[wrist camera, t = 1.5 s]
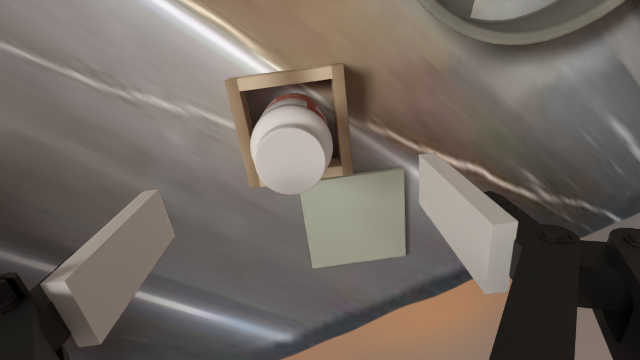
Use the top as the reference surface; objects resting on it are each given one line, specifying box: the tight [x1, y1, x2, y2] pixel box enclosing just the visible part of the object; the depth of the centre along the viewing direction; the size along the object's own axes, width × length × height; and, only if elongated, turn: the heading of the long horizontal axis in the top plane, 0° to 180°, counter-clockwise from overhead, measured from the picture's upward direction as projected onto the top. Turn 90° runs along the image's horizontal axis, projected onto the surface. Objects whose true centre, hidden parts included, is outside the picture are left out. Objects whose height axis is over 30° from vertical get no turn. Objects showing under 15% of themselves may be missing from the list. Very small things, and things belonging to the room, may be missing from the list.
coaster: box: [300, 167, 406, 268], centre depth 35 cm, size 11×11×1 cm
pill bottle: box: [250, 93, 333, 195], centre depth 25 cm, size 6×6×11 cm
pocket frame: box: [225, 63, 353, 188], centre depth 29 cm, size 10×10×2 cm
